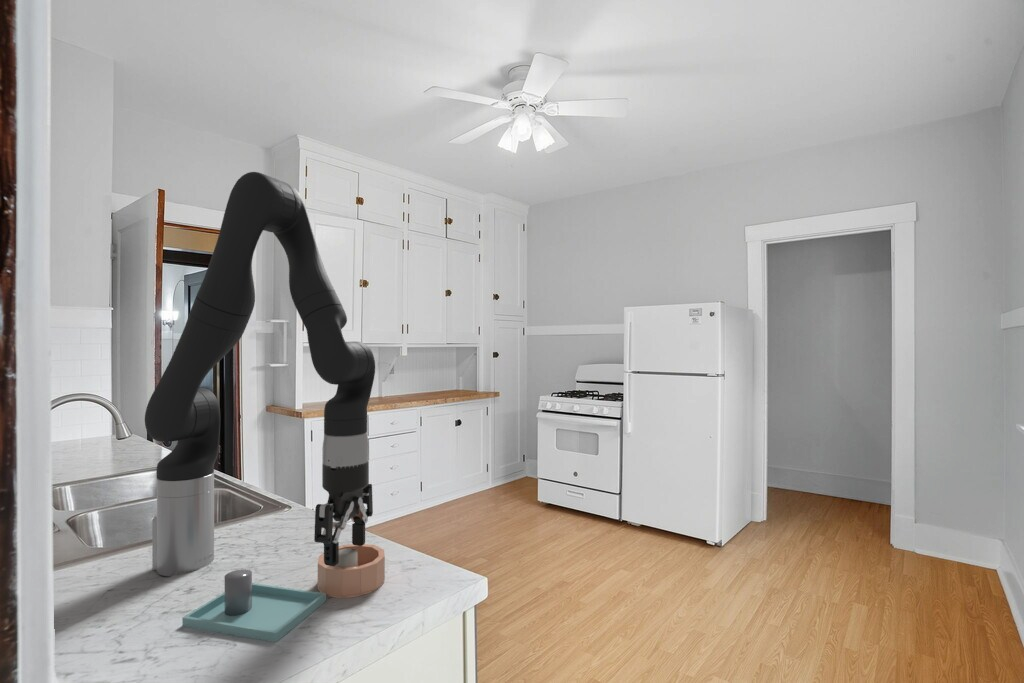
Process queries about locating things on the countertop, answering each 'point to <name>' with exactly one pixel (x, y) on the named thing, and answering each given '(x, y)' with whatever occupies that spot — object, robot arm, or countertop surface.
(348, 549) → the beige rounded cylinder
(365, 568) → the bowl
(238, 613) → the grey rounded cylinder
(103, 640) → the countertop surface
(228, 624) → the tray
